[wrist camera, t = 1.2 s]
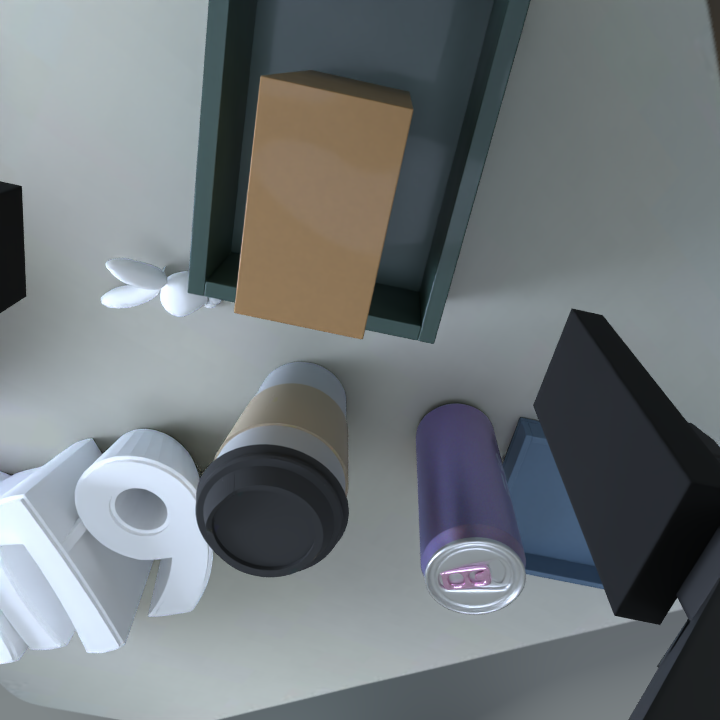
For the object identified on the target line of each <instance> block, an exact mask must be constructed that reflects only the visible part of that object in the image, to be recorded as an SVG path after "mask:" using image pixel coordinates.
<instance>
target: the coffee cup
mask: <svg viewBox="0 0 720 720" xmlns="http://www.w3.org/2000/svg"><path fill="white" fill-rule="evenodd" d="M347 493H348V426H347V421H346V394H345V391H344V388H343V386H342V384H341V383H340V381H339V380H338V378H337V377H336V376H335V375H334V374H333V373H331V372H330V371H329V370H327V369H326V368H324V367H322V366H320V365H317V364H314V363H309V362H292V363H288V364H285V365H282V366H280V367H278V368H277V369H275V370H274V371H272V372H271V373H270V374H269V375H268V376H267V378H266V379H265V381H264V382H263V384H262V385H261V387H260V389H259V390H258V392H257V394H256V395H255V397H254V398H253V399H252V400H251V401H250V403H249V404H248V405H247V407H246V409H245V410H244V412H243V413H242V415H241V416H240V418H239V419H238V421H237V422H236V424H235V425H234V427H233V428H232V430H231V432H230V433H229V435H228V436H227V438H226V439H225V441H224V442H223V444H222V445H221V447H220V448H219V450H218V452H217V454H216V456H215V459H214V461H213V462H212V463H211V464H210V465H209V466H208V467H207V468H206V470H205V471H204V473H203V474H202V476H201V478H200V480H199V483H198V486H197V491H196V508H195V513H196V521H197V525H198V528H199V530H200V532H201V534H202V536H203V538H204V540H205V541H206V542H207V544H208V545H209V546H210V548H211V549H212V550H213V551H214V552H215V553H216V554H217V555H219V556H220V557H221V558H222V559H223V560H224V561H225V562H226V563H227V564H229V565H230V566H232V567H234V568H235V569H237V570H239V571H242V572H244V573H247V574H250V575H254V576H260V577H281V576H286V575H290V574H293V573H295V572H298V571H301V570H304V569H306V568H309V567H311V566H313V565H315V564H316V563H318V562H319V561H321V560H322V559H323V558H325V557H326V556H327V555H328V554H329V553H330V552H331V551H332V549H333V548H334V547H335V545H336V544H337V542H338V541H339V540H340V538H341V537H342V535H343V533H344V531H345V529H346V526H347V523H348V516H349V508H348V501H347V498H346V497H347Z"/></svg>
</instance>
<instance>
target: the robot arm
mask: <svg viewBox="0 0 720 720" xmlns="http://www.w3.org/2000/svg"><path fill="white" fill-rule="evenodd" d="M25 297H26V275H25V251H24V227H23V203H22V186H19V185H14V184H10V183H5V182H1V181H0V313H1V312H3V311H4V310H6V309H7V308H9V307H11V306H12V305H14V304H15V303H17V302H18V301H20V300H21V299H23V298H25ZM533 406H534V409H535V411H536V414H537V416H538V419H539V422H540V424H541V427H542V429H543V432H544V434H545V437H546V440H547V442H548V445H549V447H550V450H551V453H552V455H553V458H554V460H555V463H556V465H557V468H558V471H559V473H560V476H561V478H562V481H563V484H564V486H565V489H566V491H567V494H568V497H569V499H570V502H571V504H572V507H573V509H574V512H575V515H576V517H577V520H578V522H579V525H580V528H581V530H582V533H583V535H584V538H585V540H586V543H587V546H588V548H589V551H590V553H591V556H592V559H593V561H594V564H595V566H596V569H597V571H598V574H599V577H600V579H601V582H602V584H603V587H604V590H605V592H606V595H607V597H608V600H609V603H610V605H611V608H612V610H613V613H614V615H615V616H619V617H624V618H629V619H634V620H639V621H644V622H649V623H654V624H659V625H660V624H661V623H662V621H663V619H664V618H665V616H666V615H667V613H668V611H669V610H670V608H671V607H672V605H673V604H674V602H675V600H676V599H677V598H678V599H679V601H680V603H681V605H682V607H683V609H684V611H685V613H686V615H687V617H688V620H687V622H686V623H685V625H684V626H683V628H682V629H681V631H680V632H679V634H678V636H677V637H676V638H675V640H674V641H673V643H672V644H671V646H670V648H669V649H668V650H667V652H666V654H665V655H664V657H663V658H662V660H661V661H660V663H659V664H658V666H657V667H658V670H657V671H656V673H655V675H654V677H653V678H652V680H651V682H650V684H649V685H648V687H647V689H646V691H645V692H644V694H643V696H642V697H641V699H640V701H639V702H638V704H637V706H636V708H635V709H634V711H633V713H632V714H631V716H630V718H629V720H720V447H719V446H718V445H717V444H716V442H715V441H714V440H713V439H711V438H710V437H709V436H708V435H706V434H705V433H704V432H702V431H701V430H700V429H698V428H697V427H696V426H694V425H693V424H692V423H688V422H687V421H686V420H685V419H684V417H683V416H682V415H681V414H680V412H679V411H678V410H677V409H676V407H675V406H674V405H673V404H672V402H671V401H670V400H669V398H668V397H667V396H666V395H665V393H664V392H663V391H662V390H661V388H660V387H659V386H658V385H657V383H656V382H655V381H654V380H653V378H652V377H651V376H650V374H649V373H648V372H647V371H646V369H645V368H644V367H643V366H642V364H641V363H640V362H639V361H638V359H637V358H636V357H635V356H634V354H633V353H632V352H631V351H630V349H629V348H628V347H627V345H626V344H625V343H624V342H623V340H622V339H621V338H620V337H619V335H618V334H617V333H616V332H615V330H614V329H613V328H612V327H611V325H610V324H609V323H608V322H607V320H606V319H605V318H604V316H603V315H599V314H594V313H590V312H585V311H581V310H576V309H571V312H570V314H569V317H568V319H567V322H566V324H565V327H564V329H563V332H562V334H561V337H560V339H559V342H558V344H557V347H556V349H555V352H554V354H553V357H552V359H551V362H550V364H549V367H548V369H547V372H546V374H545V377H544V380H543V382H542V385H541V387H540V390H539V392H538V395H537V397H536V400H535V402H534V405H533Z"/></svg>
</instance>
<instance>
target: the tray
mask: <svg viewBox="0 0 720 720" xmlns="http://www.w3.org/2000/svg"><path fill="white" fill-rule="evenodd" d="M503 469H504V473H505V477H506V481H507V485H508V489H509V493H510V497H511V501H512V505H513V509H514V513H515V517H516V521H517V525H518V529H519V533H520V537H521V541H522V545H523V549H524V553H525V557H526V567H525V572H526V574H529V575H534V576H539V577H544V578H549V579H554V580H559V581H565V582H570V583H575V584H580V585H585V586H590V587H595V588H600V589H604V587H603V584H602V582H601V579H600V577H599V574H598V571H597V569H596V566H595V564H594V561H593V559H592V556H591V553H590V551H589V548H588V546H587V543H586V540H585V538H584V535H583V533H582V530H581V528H580V525H579V522H578V520H577V517H576V515H575V512H574V509H573V507H572V504H571V502H570V499H569V497H568V494H567V491H566V489H565V486H564V484H563V481H562V478H561V476H560V473H559V471H558V468H557V465H556V463H555V460H554V458H553V455H552V453H551V450H550V447H549V445H548V442H547V440H546V437H545V434H544V432H543V429H542V427H541V424H540V422H539V421H536V420H531V419H526V418H522V417H520V420H519V422H518V425H517V428H516V430H515V433H514V435H513V438H512V441H511V443H510V446H509V449H508V451H507V454H506V457H505V459H504V462H503Z"/></svg>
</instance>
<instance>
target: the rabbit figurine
mask: <svg viewBox="0 0 720 720" xmlns="http://www.w3.org/2000/svg"><path fill="white" fill-rule="evenodd" d="M106 267H107V269H108V270H109V271H110V272H111V273H112V274H113V275H114V276H115V277H116V278H118V279H119V280H121V281H122V282H124V283H126V284H128V285H126V286H121V287H116V288H114V289H112V290H110V291H108V292H107V293H106V294H104V295H103V296H102V297H101V302H102V304H103V305H105V306H107V307H112V308H129V307H133V306H137V305H140V304H143V303H145V302H147V301H150V300H151V299H153V298H154V297H155V296H156V295H157V294H158V293H159V292H160V299H161V303H162V305H163V307H164V308H165V309H166V310H167V311H168V312H169V313H170V314H172V315H174V316H177V317H183V316H186V315H189V314H191V313H192V312H194V311H196V310H198V309H199V308H200V307H202V306H203V304H206V303H207V302H208V300H207V298H208V297H206V296H205V295H204V296H200V295H195V294H190V293H188V278H189V271H182V272H178V273H174V274H172V275H170V276H169V277H167V276H166V274H165V273H164V271H165V268H166V266H165V267H164V268H163V270H161V269H160V268H158V267H156V266H153V265H151V264H147V263H144V262H141V261H136V260H133V259H128V258H115V259H110V260H108V261H107V262H106ZM209 301H210V302H208V303H207V304H206V305H204V306H205V307H208V308H214V307H216V304H219V303H220V302H221V301H222V300H220V299H215V298H209Z"/></svg>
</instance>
